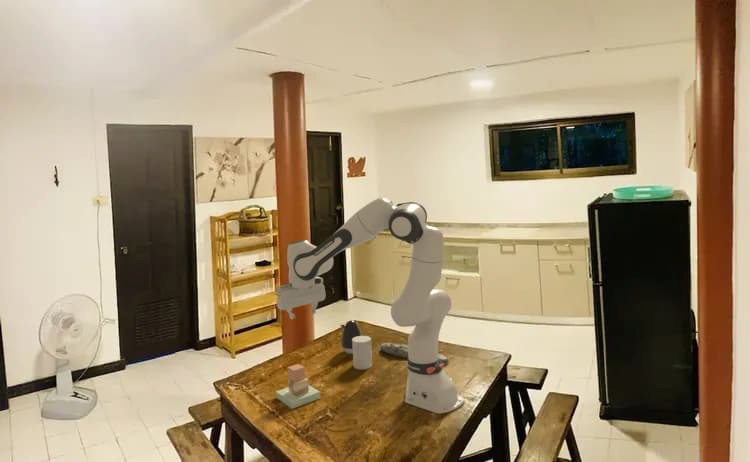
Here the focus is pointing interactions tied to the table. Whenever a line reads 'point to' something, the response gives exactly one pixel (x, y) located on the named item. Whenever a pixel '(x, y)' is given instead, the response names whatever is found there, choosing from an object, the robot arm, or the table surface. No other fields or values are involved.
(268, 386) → the table surface
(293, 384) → the beech block
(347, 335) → the pump dispenser
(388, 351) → the elongated rock
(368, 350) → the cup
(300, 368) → the terracotta block
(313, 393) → the sage base
